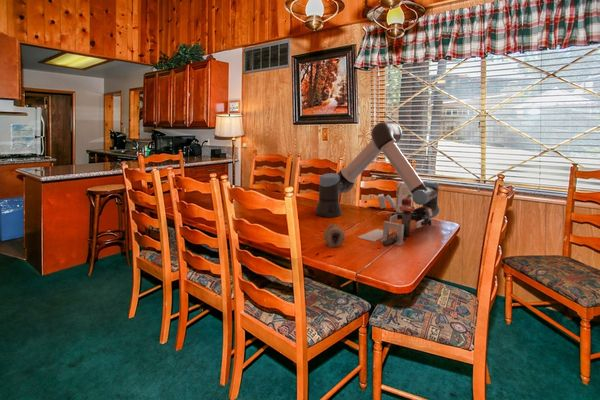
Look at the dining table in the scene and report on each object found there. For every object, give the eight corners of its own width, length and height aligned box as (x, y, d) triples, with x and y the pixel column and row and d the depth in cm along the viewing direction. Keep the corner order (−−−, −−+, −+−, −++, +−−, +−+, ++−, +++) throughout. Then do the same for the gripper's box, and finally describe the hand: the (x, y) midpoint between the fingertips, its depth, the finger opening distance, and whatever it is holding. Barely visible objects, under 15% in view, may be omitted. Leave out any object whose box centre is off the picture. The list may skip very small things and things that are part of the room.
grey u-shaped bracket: (380, 241, 173) (381, 222, 172) (385, 239, 177) (386, 220, 175) (399, 245, 167) (400, 226, 166) (404, 243, 171) (405, 224, 169)
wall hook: (397, 209, 235) (394, 193, 233) (381, 212, 237) (377, 196, 236) (397, 206, 242) (394, 191, 241) (380, 209, 245) (377, 194, 243)
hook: (378, 244, 169) (379, 213, 166) (401, 233, 187) (403, 205, 184) (392, 247, 165) (394, 216, 162) (415, 235, 182) (417, 207, 179)
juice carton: (394, 212, 230) (396, 181, 226) (407, 211, 231) (410, 181, 227) (398, 215, 222) (400, 183, 219) (412, 214, 223) (415, 183, 219)
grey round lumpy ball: (324, 249, 169) (317, 228, 169) (338, 243, 173) (332, 222, 173) (336, 249, 161) (329, 227, 160) (351, 242, 165) (344, 221, 165)
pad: (357, 237, 178) (357, 237, 178) (376, 229, 192) (376, 229, 192) (374, 241, 173) (374, 241, 173) (392, 233, 186) (392, 232, 186)
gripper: (445, 225, 187) (428, 235, 171) (398, 217, 203) (379, 225, 187) (447, 211, 185) (430, 219, 170) (399, 203, 201) (380, 210, 185)
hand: (403, 222), depth 178 cm, fingers open, 13 cm apart
